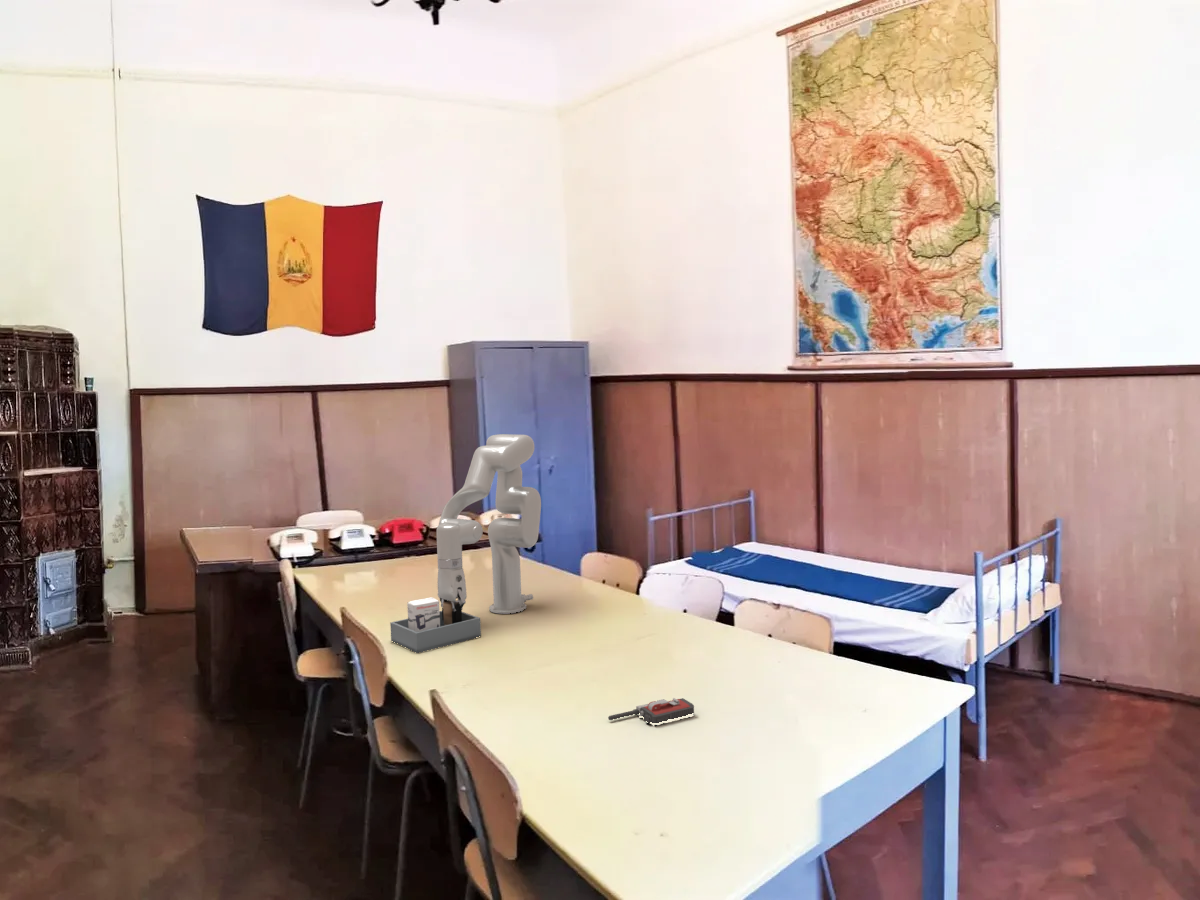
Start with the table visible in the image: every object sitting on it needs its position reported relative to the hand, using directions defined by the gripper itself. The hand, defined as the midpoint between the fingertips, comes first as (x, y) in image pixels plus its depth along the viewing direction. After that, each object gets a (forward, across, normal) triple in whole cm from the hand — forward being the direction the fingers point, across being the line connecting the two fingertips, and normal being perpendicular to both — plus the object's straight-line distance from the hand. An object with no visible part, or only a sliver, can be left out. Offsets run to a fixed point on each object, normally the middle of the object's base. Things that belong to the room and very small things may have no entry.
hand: (452, 620), depth 270 cm
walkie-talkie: (+6, -90, +1) cm, 90 cm away
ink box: (+4, 0, +10) cm, 10 cm away
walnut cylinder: (+1, 0, 0) cm, 1 cm away
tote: (+5, 0, +6) cm, 7 cm away
